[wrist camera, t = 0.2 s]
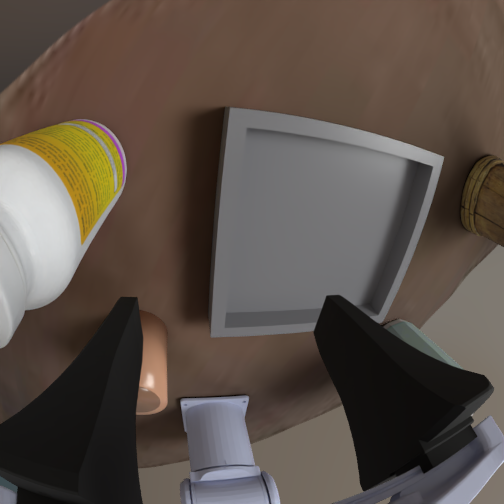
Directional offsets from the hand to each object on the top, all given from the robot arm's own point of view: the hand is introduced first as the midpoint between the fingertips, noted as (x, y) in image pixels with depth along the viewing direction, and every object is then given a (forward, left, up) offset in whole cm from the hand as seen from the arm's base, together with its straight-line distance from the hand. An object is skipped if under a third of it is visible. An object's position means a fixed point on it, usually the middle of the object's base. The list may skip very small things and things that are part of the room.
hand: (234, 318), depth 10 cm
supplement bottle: (+3, +9, -10) cm, 14 cm away
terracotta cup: (-11, +6, -10) cm, 16 cm away
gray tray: (-1, -8, -10) cm, 13 cm away
